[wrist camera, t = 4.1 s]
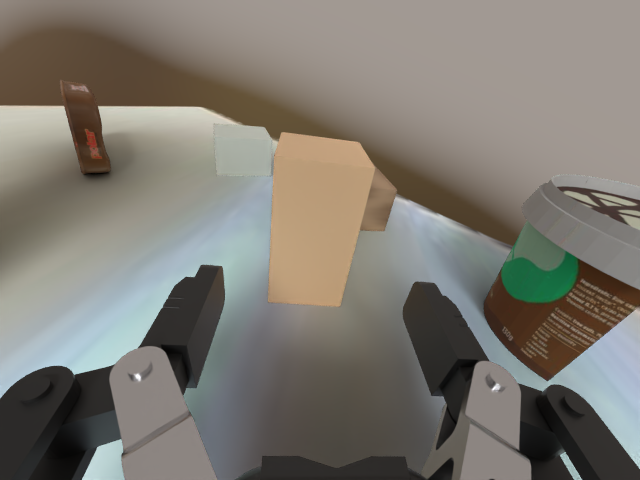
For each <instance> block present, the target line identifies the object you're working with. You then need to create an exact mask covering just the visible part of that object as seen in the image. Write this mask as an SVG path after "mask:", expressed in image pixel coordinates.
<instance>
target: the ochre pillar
mask: <svg viewBox="0 0 640 480" xmlns="http://www.w3.org/2000/svg"><path fill="white" fill-rule="evenodd" d="M374 172H375V167H374V165H373V164H372V162H371V161H370V159H369V157H368V156H367V154H366V153H365V151H364V149H363V148H362V146H361V145H360V143H359V142H352V141H345V140H338V139H330V138H323V137H314V136H308V135H300V134H292V133H284V132H282V133H281V136H280V139H279V142H278V145H277V149H276V152H275V155H274V172H273V195H272V218H271V241H270V264H269V288H268V302H271V303H287V304H303V305H319V306H335V307H340V305H341V301H342V297H343V293H344V289H345V285H346V282H347V278H348V274H349V270H350V266H351V262H352V258H353V254H354V250H355V246H356V242H357V238H358V234H359V230H360V227H361V223H362V219H363V215H364V211H365V207H366V203H367V199H368V195H369V191H370V187H371V183H372V179H373V175H374Z"/></svg>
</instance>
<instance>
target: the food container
mask: <svg viewBox="0 0 640 480" xmlns="http://www.w3.org/2000/svg"><path fill="white" fill-rule="evenodd" d="M522 213H523V214H524V216H525V218H526V219H527V222H526V224H525V225H524V227H523V229H522V231H521V233H520V235H519V237H518V239H517V241H516V242H515V244H514V246H513V248H512V250H511V252H510V254H509V256H508V257H507V259H506V261H505V263H504V265H503V267H502V269H501V271H500V272H499V274H498V276H497V278H496V280H495V282H494V284H493V286H492V288H491V289H490V291H489V293H488V295H487V297H486V299H485V301H484V308H483V309H484V314H485V317H486V320H487V322H488V324H489V326H490V327H491V329H492V331H493V332H494V334H495V335H496V336H497V338H498V339H499V340H500V341H501V342H502V344H503V345H504V346H505V347H506V348H507V349H508V350H509V351H510V352H511V353H512V354H513V355H514V356H515V357H516V358H517V359H519V360H520V361H521V362H522V363H523V364H525V365H526V366H527V367H528V368H530V369H531V370H532V371H533V372H535V373H536V374H538V375H539V376H541V377H542V378H544V379H545V380H546V381H549V380H550V379H551V378H552V377H554V376H555V375H556V374H557V373H559V372H560V371H561V370H562V369H563V368H565V367H566V366H567V365H568V364H570V363H571V362H572V361H573V360H574V359H576V358H577V357H578V356H579V355H581V354H582V353H583V352H584V351H585V350H587V349H588V348H589V347H590V346H592V345H593V344H594V343H595V342H596V341H598V340H599V339H600V338H601V337H603V336H604V335H605V334H606V333H607V332H609V331H610V330H611V329H612V328H614V327H615V326H616V325H617V324H618V323H620V322H621V321H622V320H623V319H625V318H626V317H627V316H628V315H629V314H631V313H632V312H633V311H634V310H636V309H637V308H638V307H639V306H640V187H639V186H635V185H631V184H626V183H622V182H617V181H612V180H607V179H602V178H596V177H589V176H581V175H556V176H554V177H552V178H551V180H550V181H549V182H548V183H545V184H543V185H541V186H540V187H539V188H538V189H537V190H536V191H535V192H534V193H533V194H532V195H531V196H530V197H529V199H527V200H526V201H525V202H524V203H523V205H522Z"/></svg>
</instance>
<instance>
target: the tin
mask: <svg viewBox="0 0 640 480" xmlns="http://www.w3.org/2000/svg"><path fill="white" fill-rule="evenodd" d="M60 87H61V94H62V98H63V102H64V107H65V111H66V115H67V118H68V123H69V126H70V130H71V134H72V138H73V141H74V145H75V149H76V152H77V156H78V160H79V164H80V168H81V172H82V174H86V173H104V172H109V171H110V169H111V167H110V160H109V157H108V155H107V153H106V150H105V146H104V142H103V137H102V123H101V118H100V114H99V110H98V106H97V103H96V99H95V96H94V94H93V93H92V91H91V89H90V88H89V86H88V85H85V84H80V83H73V82H65V81H62V80H60Z"/></svg>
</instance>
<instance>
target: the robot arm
mask: <svg viewBox="0 0 640 480" xmlns="http://www.w3.org/2000/svg"><path fill="white" fill-rule="evenodd" d="M224 300H225V289H224V276H223V268H222V266H213V265H201V266H200V268H199V270H198V272H197V274H196V276H195V277H185V278H184V279H182V280H181V281H180V282H179V283H178V284H176V285H175V286H174V288H173V290H172V291H171V293H170V295H169V297H168V299H167V300H166V302H165V303H164V305H163V308H162V309H161V310H160V312H159V314H158V316H157V317H156V319H155V321H154V322H153V324H152V326H151V328H150V329H149V331H148V333H147V334H146V336H145V338H144V340H143V341H142V343H141V345H140V346H139V347H138V349H135V350H133V351H131V352H129V353H127V354H126V355H124V356H123V357H122V358H121V359H120V360H119V361H118V362H117V363H116V364H114V365H112V366H109V367H105V368H101V369H97V370H93V371H89V372H84V373H80V374H76V375H74V374H73V373H72V371H71V370H70V369H68V368H67V367H63V366H50V367H45V368H42V369H39V370H37V371H34V372H32V373H30V374H28V375H26V376H25V377H23V378H22V379H20V380H19V381H17V382H16V383H15V384H14V385H13V386H11V387H10V388H9V389H8V390H7V391H6V393H5V394H4V395H3V396H2V397H1V399H0V480H82V478H83V476H84V474H85V472H86V470H87V468H88V466H89V464H90V462H91V459H92V457H93V455H94V453H95V451H96V449H97V447H98V446H101V445H104V444H107V443H110V442H113V441H116V440H119V439H122V443H123V453H122V467H123V473H124V478H125V480H217V477H216V475H215V472H214V470H213V467H212V465H211V462H210V460H209V457H208V455H207V452H206V450H205V447H204V445H203V442H202V440H201V437H200V434H199V432H198V429H197V427H196V424H195V422H194V420H193V417H192V415H191V413H190V412H189V410H188V408H187V405H186V403H185V400H184V398H183V395H184V393H185V390H186V388H197V385H198V382H199V379H200V376H201V373H202V370H203V367H204V364H205V361H206V358H207V355H208V352H209V349H210V346H211V343H212V340H213V337H214V334H215V331H216V328H217V325H218V322H219V319H220V316H221V313H222V310H223V306H224ZM403 319H404V322H405V325H406V328H407V330H408V333H409V336H410V339H411V341H412V344H413V347H414V349H415V352H416V355H417V357H418V360H419V363H420V366H421V368H422V371H423V374H424V376H425V379H426V382H427V384H428V387H429V390H430V393H431V395H432V396H444V399H445V401H446V404H445V405H444V407H443V409H442V413H441V417H440V420H439V424H438V427H437V431H436V434H435V438H434V441H433V445H432V448H431V452H430V454H429V457H428V459H427V461H426V463H425V465H424V467H423V469H422V471H421V474H419V473H417V472H415V471H413V470H411V469H409V468H408V467H407V463H406V459H405V457H369V458H366V459H363V460H360V461H357V462H355V463H352V464H349V465H346V466H343V467H340V468H333V467H330V466H327V465H324V464H321V463H318V462H315V461H312V460H309V459H306V458H303V457H300V456H263V457H262V466H261V467H258V468H255V469H252V470H250V471H248V472H246V473H244V474H243V475H241V476H240V477H238V478H237V479H235V480H574V479H573V478H572V476H571V474H570V472H569V471H568V469H567V467H566V466H565V464H564V462H563V461H562V459H561V457H560V456H559V455H560V454H562V453H564V452H566V454H567V455H568V457H569V459H570V460H571V462H572V463H573V465H574V467H575V468H576V470H577V472H578V473H579V475H580V477H581V478H582V480H640V469H639V468H638V466H637V465H636V464H635V463H634V461H633V460H632V459H631V457H630V456H629V455H628V453H627V452H626V451H625V449H624V448H623V447H622V446H621V444H620V443H619V442H618V440H617V439H616V438H615V436H614V435H613V434H612V433H611V431H610V430H609V429H608V427H607V426H606V425H605V423H604V422H603V421H602V420H601V418H600V417H599V416H598V414H597V413H596V412H595V410H594V409H593V408H592V407H591V406H590V404H589V403H588V402H587V401H586V400H585V399H583V398H582V397H581V396H580V395H578V394H577V393H575V392H574V391H572V390H571V389H569V388H566V387H564V386H561V385H550V386H549V387H547V388H546V389H545V390H544V391H543V392H542V391H539V390H536V389H533V388H531V387H528V386H525V385H522V384H519V383H517V382H516V380H515V379H514V377H513V376H512V375H511V374H510V373H509V372H508V371H507V370H505V369H504V368H503V367H501V366H499V365H497V364H495V363H493V362H490V361H489V359H488V358H487V356H486V354H485V353H484V351H483V349H482V348H481V346H480V344H479V343H478V341H477V339H476V338H475V336H474V334H473V333H472V331H471V330H470V328H469V327H468V325H467V323H466V321H465V320H464V318H462V315H461V313H460V311H459V310H458V308H457V306H456V305H455V304H454V303H453V302H452V301H451V300H450V299H449V298H447V297H446V296H442V294H441V292H440V291H439V289H438V287H437V286H436V284H434V283H428V282H415V283H414V284H413V286H412V288H411V291H410V293H409V295H408V298H407V300H406V302H405V304H404V307H403Z"/></svg>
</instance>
